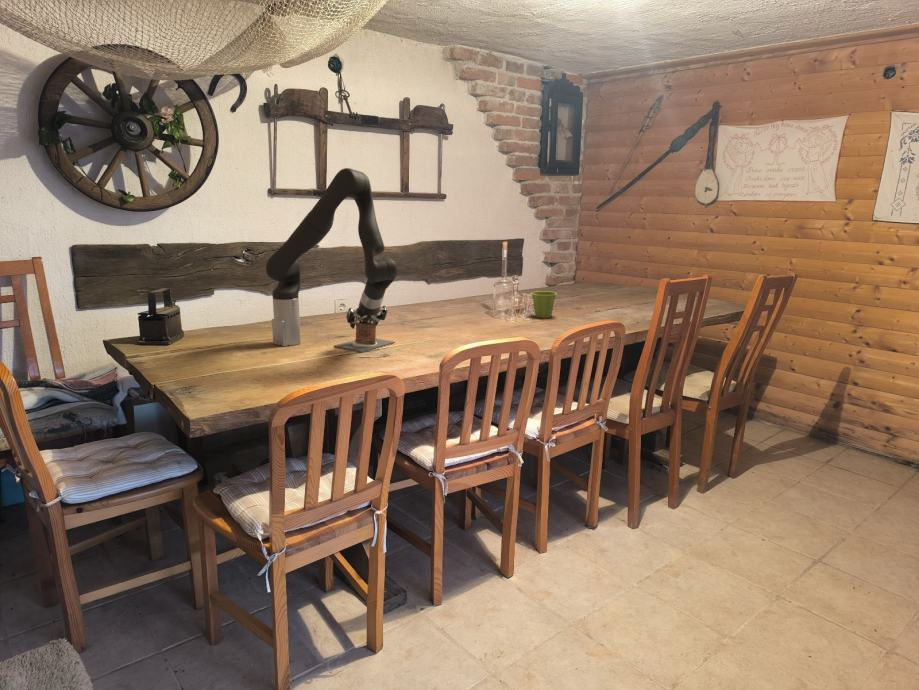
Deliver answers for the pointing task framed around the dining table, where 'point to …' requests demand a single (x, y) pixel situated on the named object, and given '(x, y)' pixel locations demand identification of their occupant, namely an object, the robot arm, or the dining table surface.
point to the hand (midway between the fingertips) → (363, 325)
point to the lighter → (366, 332)
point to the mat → (363, 345)
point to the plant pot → (543, 303)
